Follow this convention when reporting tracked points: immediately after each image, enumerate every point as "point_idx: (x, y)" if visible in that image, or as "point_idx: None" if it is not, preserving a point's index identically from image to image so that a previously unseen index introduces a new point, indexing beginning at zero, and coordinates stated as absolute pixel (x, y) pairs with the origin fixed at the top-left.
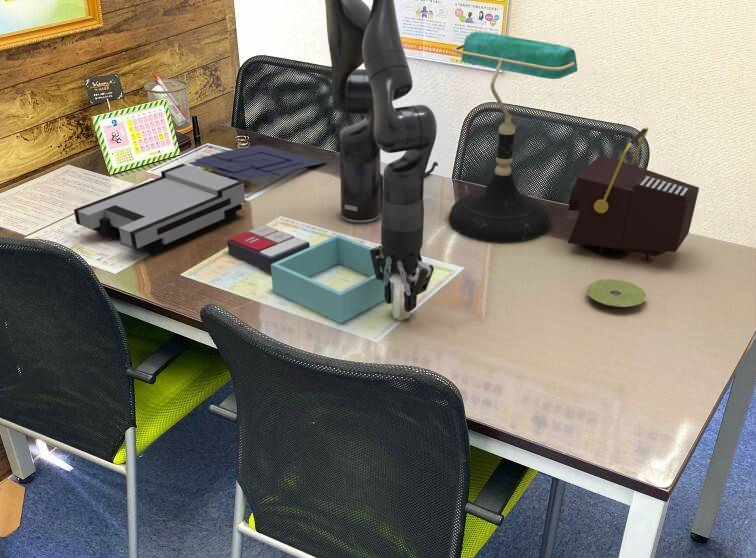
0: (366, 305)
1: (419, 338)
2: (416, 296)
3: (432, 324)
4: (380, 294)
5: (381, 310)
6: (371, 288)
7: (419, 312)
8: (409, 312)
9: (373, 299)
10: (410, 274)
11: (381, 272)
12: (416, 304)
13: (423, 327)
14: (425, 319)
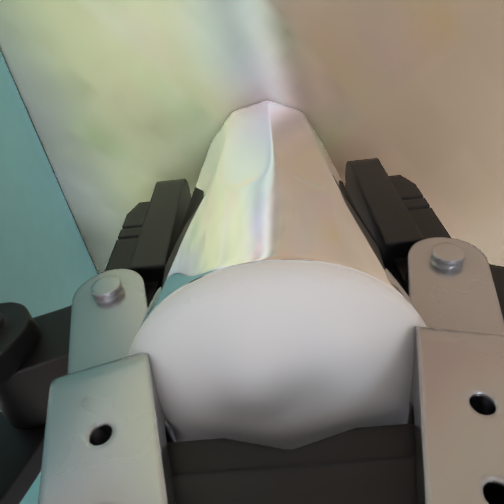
0: (78, 264)
1: (499, 234)
2: (446, 237)
3: (494, 72)
4: (12, 161)
5: (135, 192)
6: (21, 300)
7: (318, 16)
8: (319, 141)
9: (48, 222)
10: (394, 389)
11: (19, 415)
12: (419, 191)
13: (460, 144)
14: (415, 60)
